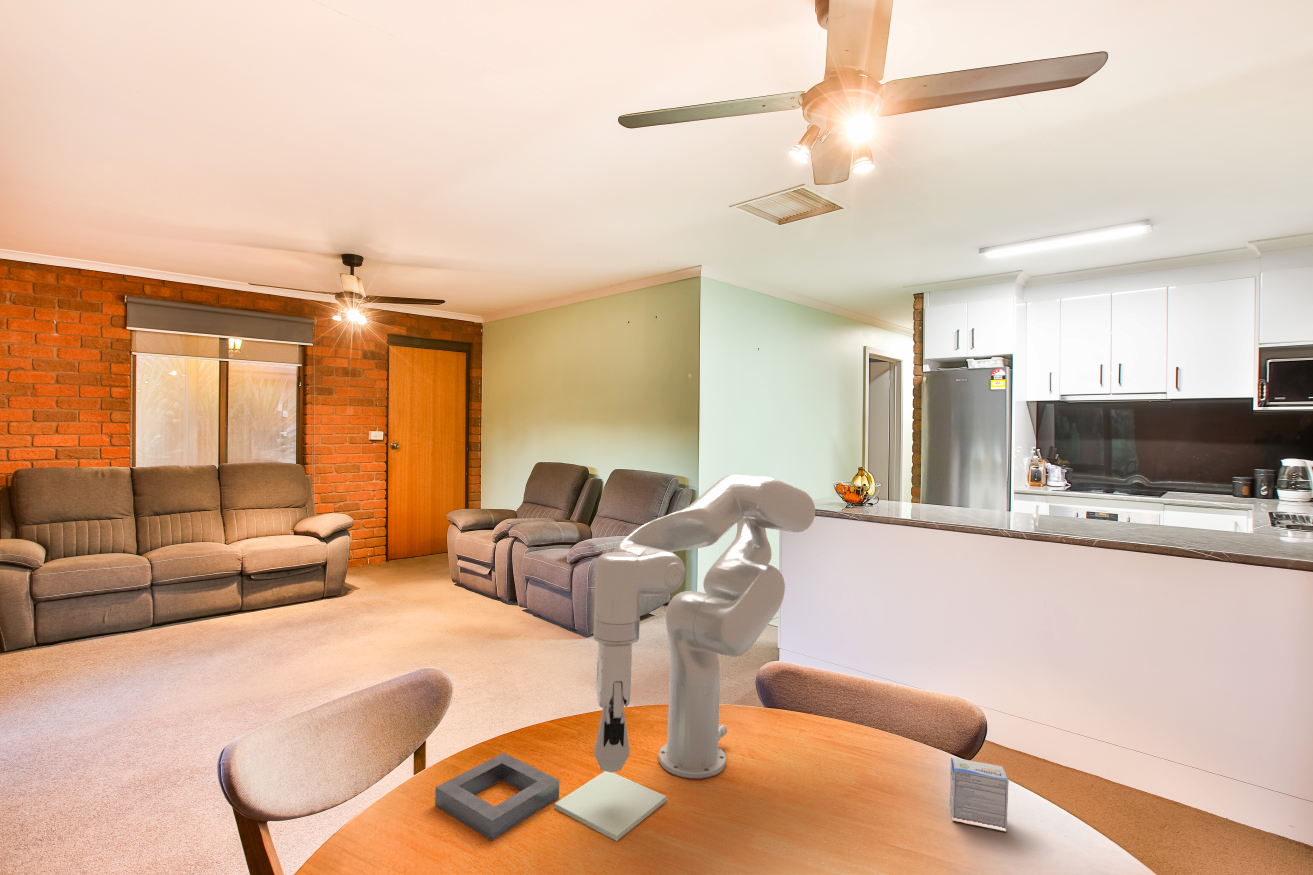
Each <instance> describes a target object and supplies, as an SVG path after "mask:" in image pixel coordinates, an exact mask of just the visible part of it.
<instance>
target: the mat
mask: <svg viewBox="0 0 1313 875" xmlns="http://www.w3.org/2000/svg"><path fill="white" fill-rule="evenodd" d="M664 803H667V796H666V795H664V794H662V793H660V792H657V791H655V790H654V789H651V788H649V787H646V786H644V785H641V784H640V783H637V782H635V781H634V780H633V781H632V780H631V779H629V778H626V777H624V776H621V775H619V774H617V773H615V772H607V771H604V770H603V772H601V773H600V774H598V775H596V776H595V777H593V778H592V779H591V780H589V781H588V782H585V783H584V784H583V785H582V786H579V787H578V788H576V789H575V790H573V791H572V792H570V793H569V794H567V795H566V796H564V797H563V798H560V799H559V800H558V801H556V802H555V803H554V809H555V810H557V811H558V812H561V813H562V814H565V815H567V816H568V817H570V818H572V819H574V820H576V821H577V822H580V823H581V824H584V825H585V826H588V828H591V829H593V830H594V831H596V832H598V833H600V834H602V835H604V836H606V837H607V838H609V839H612V840H613V841H615V842H618V841H619V840H620V839H622V838H623V837H624V836H625V835H627V833H629V832H630V831H631V830H633V829H634V827H637V825H638V824H640V823H641V822H642V821H643V820H644V819H647V817H649V816H650V815H651V814H653V813H654V812H655V811H656V810H657V809H659V808H660V807H661V806H662V805H663V804H664Z"/></svg>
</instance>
